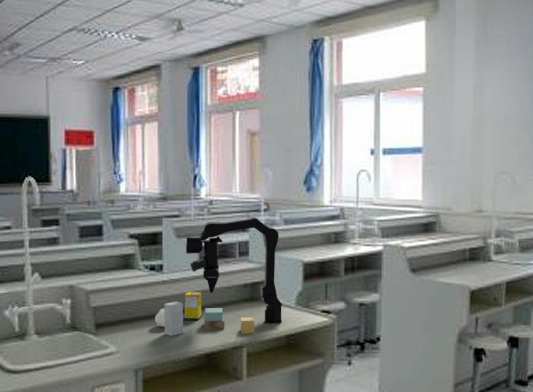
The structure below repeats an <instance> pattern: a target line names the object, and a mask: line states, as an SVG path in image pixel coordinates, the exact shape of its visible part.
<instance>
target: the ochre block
mask: <svg viewBox="0 0 533 392" xmlns="http://www.w3.org/2000/svg"><path fill="white" fill-rule="evenodd" d="M240 333H241V334H255V318H254V317H253V316H251V317H240Z"/></svg>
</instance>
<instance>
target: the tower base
mask: <svg viewBox="0 0 533 392" xmlns="http://www.w3.org/2000/svg"><path fill="white" fill-rule="evenodd" d="M224 329H225V316H224V315H223V321H205V319H204V330H224Z"/></svg>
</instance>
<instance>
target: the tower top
mask: <svg viewBox="0 0 533 392" xmlns="http://www.w3.org/2000/svg"><path fill="white" fill-rule="evenodd" d="M223 314H224V313H223V307H209V308H208V307H207V308H204V320H205V321H223V316H224V315H223Z"/></svg>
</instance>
